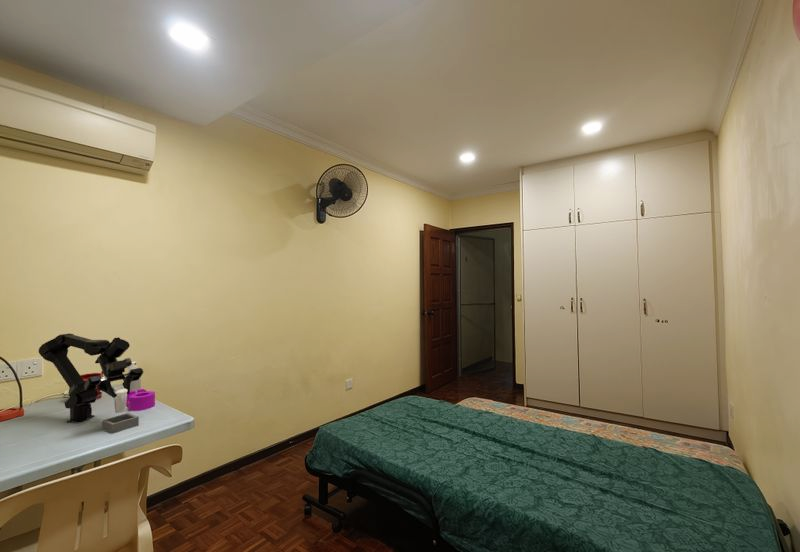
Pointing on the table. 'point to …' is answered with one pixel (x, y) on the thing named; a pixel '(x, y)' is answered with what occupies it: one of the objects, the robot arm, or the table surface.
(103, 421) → the collar
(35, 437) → the table surface
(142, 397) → the tape dispenser
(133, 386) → the spray bottle
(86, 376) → the plant pot
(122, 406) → the milkshake
